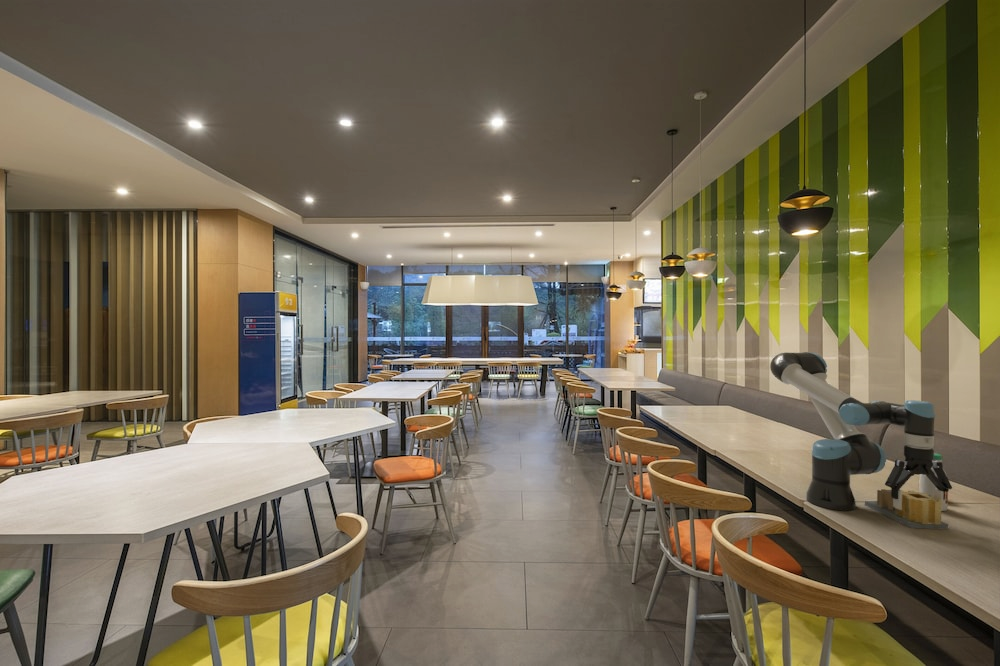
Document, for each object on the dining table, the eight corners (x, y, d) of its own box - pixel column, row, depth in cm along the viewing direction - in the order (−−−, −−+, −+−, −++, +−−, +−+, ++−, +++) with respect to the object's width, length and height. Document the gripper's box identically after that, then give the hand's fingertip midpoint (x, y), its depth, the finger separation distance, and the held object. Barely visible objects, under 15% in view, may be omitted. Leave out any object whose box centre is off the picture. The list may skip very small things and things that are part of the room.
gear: (915, 523, 151) (915, 501, 151) (889, 511, 161) (889, 490, 161) (947, 524, 151) (948, 502, 151) (919, 512, 161) (920, 491, 161)
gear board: (910, 527, 152) (911, 505, 152) (864, 504, 172) (865, 485, 172) (948, 528, 151) (948, 506, 151) (897, 505, 171) (897, 486, 171)
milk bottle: (942, 513, 165) (943, 457, 165) (915, 505, 172) (915, 452, 171) (951, 509, 168) (952, 455, 168) (924, 502, 175) (925, 450, 175)
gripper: (890, 448, 153) (889, 512, 153) (967, 450, 152) (966, 513, 152) (872, 443, 160) (871, 503, 160) (946, 444, 159) (945, 505, 159)
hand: (917, 508), depth 156 cm, fingers open, 13 cm apart
